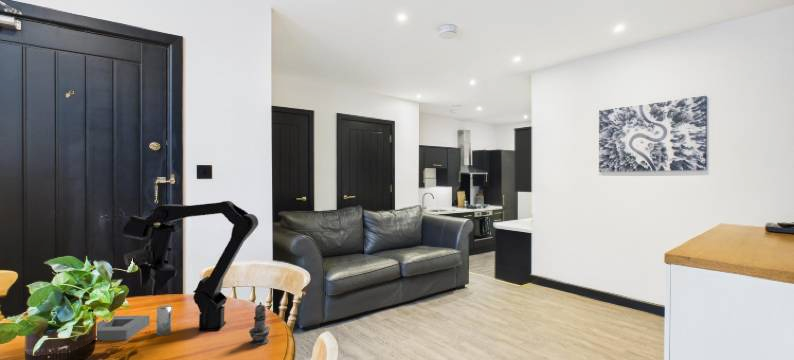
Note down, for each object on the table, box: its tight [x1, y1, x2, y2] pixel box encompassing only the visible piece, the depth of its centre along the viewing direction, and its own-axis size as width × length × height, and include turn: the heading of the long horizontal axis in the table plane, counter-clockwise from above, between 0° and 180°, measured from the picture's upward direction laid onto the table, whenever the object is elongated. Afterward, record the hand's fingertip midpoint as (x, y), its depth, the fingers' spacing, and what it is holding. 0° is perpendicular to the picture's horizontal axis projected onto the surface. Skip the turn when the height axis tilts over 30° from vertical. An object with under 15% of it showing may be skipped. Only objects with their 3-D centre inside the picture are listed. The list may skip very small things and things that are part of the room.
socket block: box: [96, 315, 151, 342], centre depth 113 cm, size 12×12×3 cm
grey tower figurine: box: [248, 301, 271, 347], centre depth 109 cm, size 6×6×12 cm
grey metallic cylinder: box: [155, 304, 173, 337], centre depth 114 cm, size 4×4×8 cm
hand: (148, 290), depth 117 cm, fingers open, 9 cm apart
